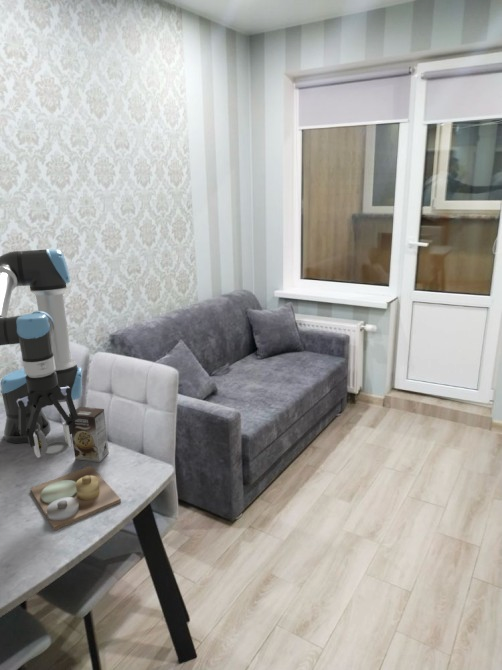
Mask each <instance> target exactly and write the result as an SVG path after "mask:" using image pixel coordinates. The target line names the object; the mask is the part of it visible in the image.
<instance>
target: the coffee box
mask: <svg viewBox="0 0 502 670" xmlns="http://www.w3.org/2000/svg"><path fill="white" fill-rule="evenodd" d="M75 409H76V412H77V415H78V419H77V420H75V421H73V424H72V428H73V434H71V438H72V444H73V445H72V446H73V451H74V453H73V454H74V459H75V460H80V461H87V462H88V461H89V462H95V463H100V462H101V461H102V460H103V459H104V458H105V457H106V456H107V455H108V454H110V452H109V443H108V433H107V426H106V425H107V424H106V415H105V408H97V407H88V406H87V407H85V406H78V407H77V408H75ZM68 416H71V415H70V413H69V414H68Z"/></svg>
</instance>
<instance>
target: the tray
mask: <svg viewBox="0 0 502 670" xmlns="http://www.w3.org/2000/svg"><path fill="white" fill-rule="evenodd" d="M30 493H31V494H32V495H33V498H34V499H35V500H36V502H37V504H38V505H39V508H40V509H41V510H42V512H43V514H44V515H45V517H46V519H47V520H48V522H49V525H50V526H51V527H52V529H53V530H54V531H56V530H57V531H58V530H59V529H61V528H65V526H68V525H70V524H74V523H75V522H77V521H80V520H82V519H85V518H87V517H89V516H92V515H94V514H95V513H99V512H101V511H103V510H106V509H108V508H110V507H113V506H115V505H118V504H119V503H121V502H122V500H121V498H120V496H119V495H118V494H117V493H116V492H115V490H113V488H112V487H111V486H110V485H109V484H108V483H107V482H106V480H105V479H104V478H103V477H102V476H101V475H100V474H99V473H98V471H97V470H96V469H94V467H93V466H92V465H89V466H86V467H83V468H81V469H78V470H75V471H73V472H69V473H68V474H64V475H62V476H60V477H56V478H54V479H50V480H48V481H46V482H44V483H40V484H37V485H35V486H32V487H30Z"/></svg>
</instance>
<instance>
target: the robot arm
mask: <svg viewBox="0 0 502 670" xmlns="http://www.w3.org/2000/svg"><path fill="white" fill-rule="evenodd" d="M70 278H71V277H70V272H69V269H68V265H67V262H66V258H65V255H64V253H63V252H62V251H61V250H59V249H53V248H52V249H51V248H50V249H48V248H47V249H34V250H17V251H16V250H14V251H10V252H7V253H4V254H1V256H0V346H7V345H19V347H20V352H21V353H20V354H21V358H22V365H23V368H20V369H17V370H13V371H12V372H9V373H8V374H6V375H4V376H3V377H2V379H1V380H0V389H1V390H0V391H1V392H0V393H1V395H2V401H3V406H4V410H5V414H6V415H5V416H6V420H5V424H4V429H3V434H4V435H3V436H4V440H5V441H6V442H8V443H11V444H25V443H28V444H29V446H30V447H31V448H32V447H33V451H34V455H35V456H36V458H37V459H38V458H41V452H40V450H39V445H38V439H37V435H36V433H35V432H34V431H35V430H37V429H38V428H37V425H38V424H39V425H40V430H41V431H42V432H43V434H44V435H45V436H47V435H48V434H49V433H50V431H51V423H50V421H49V419H48V417H47V415H46V413H45V412H44V411H43V408H45V407H47V406H50V407H51V406H54V408H55V409H56V410H57V411H58V413H59V414H60V416H61V417H62V419H63V420H64V422H62V428H63V436H64V440H65V441H64V442H67V444H68V448H71V447H72V441H71V435H72V434H73V428H72V424H73V421H75V420H77V419H78V415H77V412H76V409H77V408H76V406H75V404H74V401H76V400H80V398H82V393H83V391H82V390H83V389H82V388H83V372H82V371H83V368H82V367H81V366H78V364H77V361H75V360H74V359H73V358H72V351H71V344H70V337H69V329H68V322H67V321H68V320H67V315H66V309H65V308H66V307H65V300H64V292H65V290H66V289H67V284H69V283H70V282H71V279H70ZM27 286H28V287H29V291H30V292H31V293H33V295H34V296H35V298H36V303H37V306H36V307H37V311H36V310H35V311H33V312H31V313H28V314H23V315H12V316H8V312H9V307H10V302H11V297H12V292H13V291H14V290H15V289H16V287H27ZM61 403H66V405H67V409H68V411H69V414H70V415H71V416H69V414H67V412H66V411H65V409H64V408H63V406H62V405H61ZM37 423H38V424H37ZM36 424H37V425H36Z"/></svg>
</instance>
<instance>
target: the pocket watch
mask: <svg viewBox="0 0 502 670" xmlns="http://www.w3.org/2000/svg"><path fill="white" fill-rule="evenodd" d="M37 424H38V423H37ZM37 424H36V425H37ZM37 428H38V429H37V430H35V431H34V432H35V433H36V435H37V439H38V445H39V450H40V454H44V455H46V456H54V455H58V454H62V453H63V452H65V451H66V450H67V449H68V448H69V447H68V444H67V442H65V441H63V440H58V441H57V440H56V441H52V442H49V443H48V442H47V438H46V435H44V434H43V432H42V431H41V430H40V425H39V424H38V425H37Z"/></svg>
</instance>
